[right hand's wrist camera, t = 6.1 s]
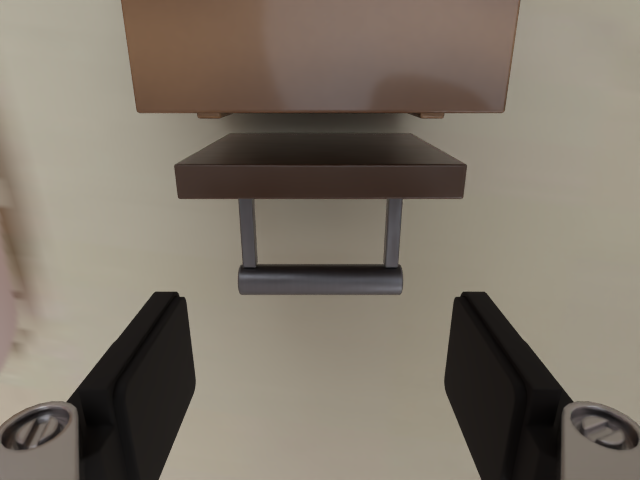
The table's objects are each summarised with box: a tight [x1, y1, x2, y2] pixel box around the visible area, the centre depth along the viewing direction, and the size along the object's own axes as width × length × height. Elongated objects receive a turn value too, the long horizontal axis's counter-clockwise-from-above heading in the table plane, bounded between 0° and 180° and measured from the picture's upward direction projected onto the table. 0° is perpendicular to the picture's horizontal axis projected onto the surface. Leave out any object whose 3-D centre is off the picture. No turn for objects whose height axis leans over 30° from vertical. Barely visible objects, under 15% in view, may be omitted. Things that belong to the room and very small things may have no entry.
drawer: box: [174, 113, 467, 295], centre depth 17 cm, size 24×10×9 cm, turn 0°
